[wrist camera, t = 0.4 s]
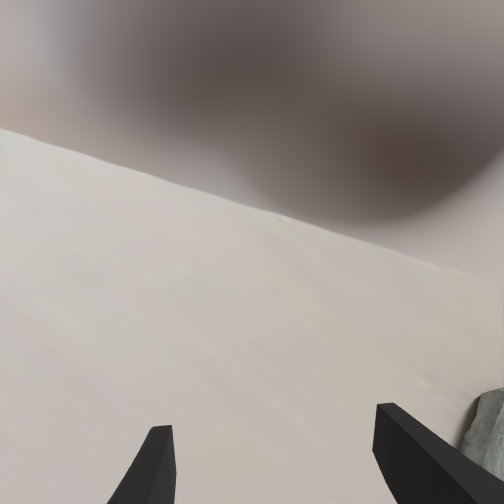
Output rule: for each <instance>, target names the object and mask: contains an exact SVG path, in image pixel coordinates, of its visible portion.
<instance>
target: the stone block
mask: <svg viewBox="0 0 504 504" xmlns="http://www.w3.org/2000/svg"><path fill="white" fill-rule="evenodd" d="M459 452H461V453H462V454H463V455H465V456H466V457H468V458H469V459H470V460H472V461H473V462H475V463H476V464H478V465H479V466H481V467H482V468H484V469H485V470H487V471H488V472H490V473H491V474H493V475H494V476H496V477H497V478H499V479H501V480H502V481H504V388H499V389H496V390H492V391H489V392H486V393H483V394H481V397H480V401H479V404H478V409H477V412H476V413H475V419H474V420H473V422H472V423H471V426H470V427H469V429H468V431H467V432H465V434H464V438H463V441H462V446H461V448H460V450H459Z"/></svg>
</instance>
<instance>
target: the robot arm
mask: <svg viewBox="0 0 504 504" xmlns="http://www.w3.org/2000/svg"><path fill="white" fill-rule="evenodd" d="M372 451H373V453H374V456H375V458H376V461H377V463H378V465H379V468H380V470H381V472H382V475H383V477H384V479H385V481H386V483H387V485H388V487H389V489H390V491H391V493H392V494H393V496H394V498H395V500H396V502H397V504H504V481H502V480H501V479H499V478H497V477H496V476H494V475H493V474H491V473H490V472H488V471H487V470H485V469H484V468H482V467H481V466H479V465H478V464H476V463H475V462H473V461H472V460H470V459H469V458H468V457H466V456H465V455H463V454H462V453H461V452H459V451H458V450H456V449H455V448H454V447H452V446H451V445H449V444H448V443H447V442H445V441H444V440H443V439H441V438H440V437H439V436H437V435H436V434H435V433H433V432H432V431H431V430H429V429H428V428H427V427H425V426H424V425H423V424H421V423H420V422H419V421H417V420H416V419H415V418H413V417H412V416H411V415H410V414H408V413H407V412H406V411H404V410H403V409H402V408H400V407H399V406H397V405H396V404H395V403H384V404H377V410H376V420H375V430H374V439H373V449H372ZM175 486H176V463H175V453H174V443H173V432H172V425H166V426H156V427H152V428H151V429H150V431H149V433H148V435H147V437H146V439H145V441H144V443H143V445H142V446H141V448H140V450H139V452H138V454H137V456H136V457H135V459H134V461H133V463H132V464H131V466H130V468H129V469H128V471H127V473H126V474H125V476H124V478H123V479H122V481H121V482H120V484H119V486H118V487H117V489H116V491H115V492H114V494H113V495H112V497H111V498H110V500H109V501H108V503H107V504H174V499H175Z"/></svg>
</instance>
